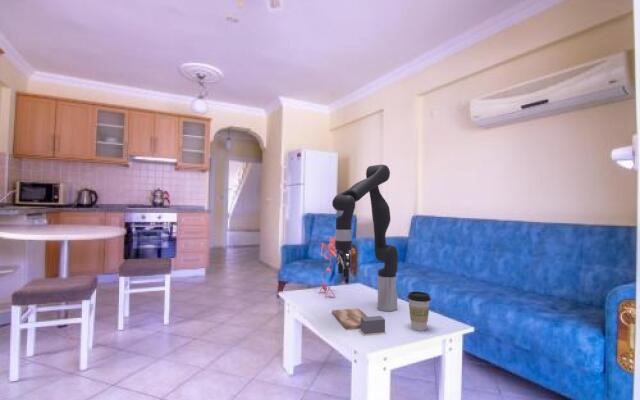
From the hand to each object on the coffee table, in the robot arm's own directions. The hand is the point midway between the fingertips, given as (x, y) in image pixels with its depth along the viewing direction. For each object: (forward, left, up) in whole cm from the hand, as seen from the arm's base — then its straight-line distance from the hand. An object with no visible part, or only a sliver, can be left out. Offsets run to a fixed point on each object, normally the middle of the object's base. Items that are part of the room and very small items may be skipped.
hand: (343, 275), depth 148 cm
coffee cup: (-32, +11, -22) cm, 40 cm away
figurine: (-10, -49, -22) cm, 55 cm away
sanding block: (-10, +11, -22) cm, 27 cm away
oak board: (-7, -5, -22) cm, 24 cm away
